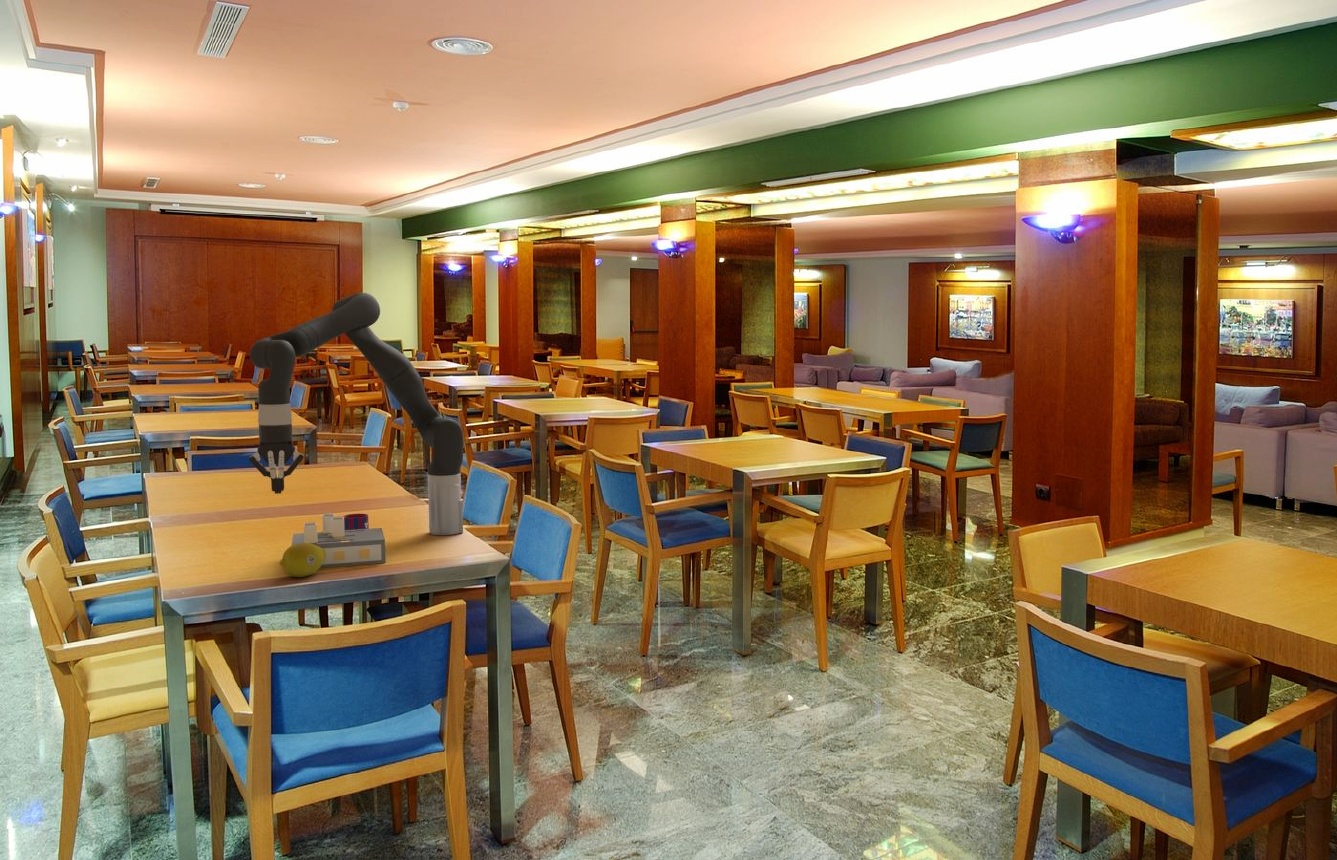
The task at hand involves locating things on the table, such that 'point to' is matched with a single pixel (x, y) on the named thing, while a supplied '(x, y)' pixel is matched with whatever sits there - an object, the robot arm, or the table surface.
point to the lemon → (302, 559)
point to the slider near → (310, 532)
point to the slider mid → (338, 527)
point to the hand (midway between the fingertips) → (278, 493)
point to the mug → (356, 521)
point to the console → (350, 547)
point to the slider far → (327, 522)
